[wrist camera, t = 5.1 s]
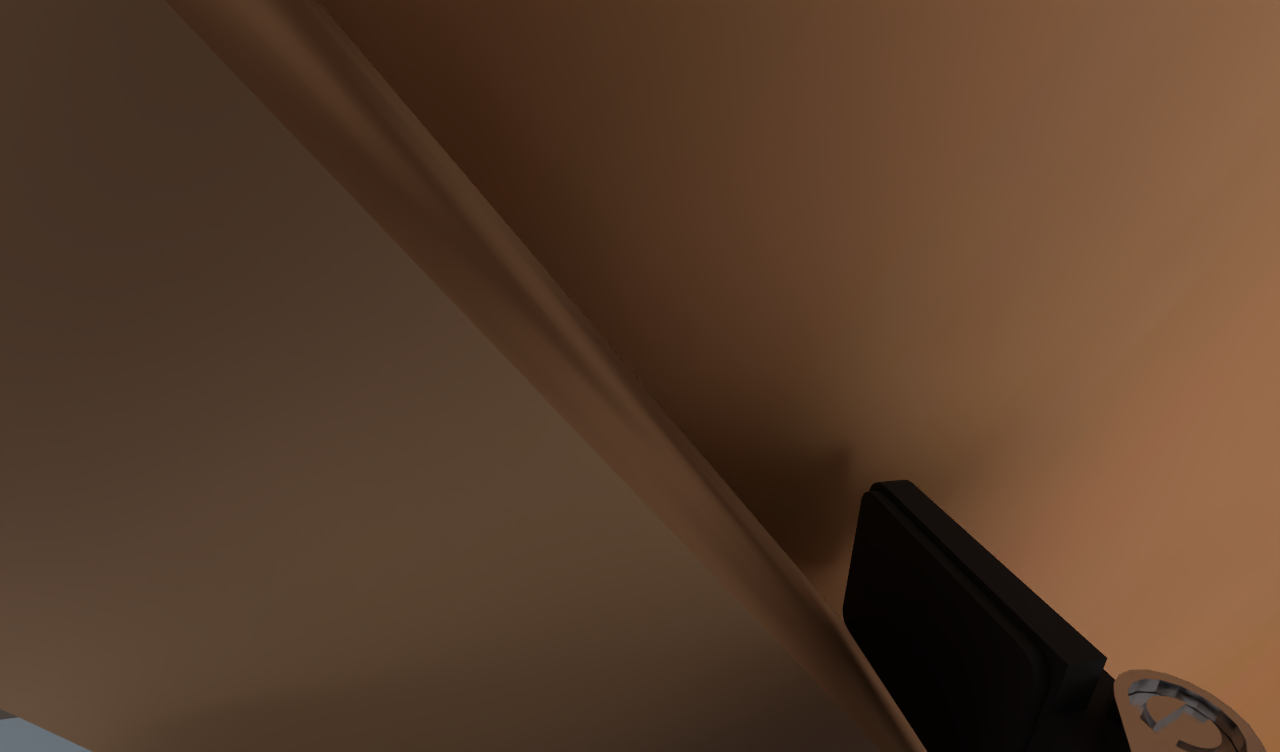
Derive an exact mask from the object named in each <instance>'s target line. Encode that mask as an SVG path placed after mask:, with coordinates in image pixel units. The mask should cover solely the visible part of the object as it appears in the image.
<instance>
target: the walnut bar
mask: <svg viewBox="0 0 1280 752" xmlns="http://www.w3.org/2000/svg"><path fill="white" fill-rule="evenodd" d="M0 709H2V710H4V711H6V712H8V713H10V714H12V715H15V716H17V717H19V718H21V719H23V720H25V721H27V722H30V723H32V724H34V725H36V726H38V727H40V728H43V729H45V730H47V731H49V732H51V733H53V734H55V735H58V736H60V737H62V738H64V739H66V740H68V741H71V742H73V743H75V744H77V745H79V746H81V747H83V748H86V749H88V750H90V751H92V752H927V751H926V749H925V748H924V746H923V745H922V743H921V741H920V740H919V738H918V737H917V735H916V734H915V732H914V731H913V729H912V728H911V726H910V725H909V723H908V722H907V720H906V718H905V717H904V715H903V714H902V712H901V711H900V709H899V708H898V706H897V705H896V703H895V702H894V700H893V699H892V697H891V695H890V694H889V692H888V691H887V689H886V688H885V686H884V685H883V683H882V682H881V680H880V679H879V677H878V676H877V674H876V672H875V671H874V669H873V668H872V666H871V665H870V663H869V662H868V660H867V659H866V657H865V656H864V654H863V653H862V651H861V649H860V648H859V646H858V645H857V643H856V642H855V640H854V639H853V637H852V636H851V634H850V633H849V631H848V629H847V627H846V625H845V623H844V622H843V620H842V619H841V618H840V617H839V616H838V615H837V613H836V612H835V611H834V610H833V609H832V607H831V606H830V605H829V604H828V603H827V602H826V600H825V599H824V598H823V597H822V596H821V594H820V593H819V592H818V591H817V590H816V589H815V587H814V586H813V585H812V584H811V583H810V582H809V580H808V579H807V578H806V577H805V576H804V574H803V573H802V572H801V571H800V570H799V569H798V567H797V566H796V565H795V564H794V563H793V561H792V560H791V559H790V558H789V557H788V556H787V554H786V553H785V552H784V551H783V550H782V548H781V547H780V546H779V545H778V544H777V543H776V541H775V540H774V539H773V538H772V537H771V535H770V534H769V533H768V532H767V531H766V530H765V528H764V527H763V526H762V525H761V524H760V522H759V521H758V520H757V519H756V518H755V517H754V515H753V514H752V513H751V512H750V511H749V509H748V508H747V507H746V506H745V505H744V504H743V502H742V501H741V500H740V499H739V498H738V496H737V495H736V494H735V493H734V492H733V491H732V489H731V488H730V487H729V486H728V485H727V483H726V482H725V481H724V480H723V479H722V478H721V476H720V475H719V474H718V473H717V472H716V470H715V469H714V468H713V467H712V466H711V465H710V463H709V462H708V461H707V460H706V459H705V457H704V456H703V455H702V454H701V453H700V452H699V450H698V449H697V448H696V447H695V446H694V444H693V443H692V442H691V441H690V440H689V439H688V437H687V436H686V435H685V434H684V433H683V431H682V430H681V429H680V428H679V427H678V426H677V424H676V423H675V422H674V421H673V420H672V418H671V417H670V416H669V415H668V414H667V413H666V411H665V410H664V409H663V408H662V407H661V405H660V404H659V403H658V402H657V401H656V400H655V398H654V397H653V396H652V395H651V394H650V392H649V391H648V390H647V389H646V388H645V387H644V385H643V384H642V383H641V382H640V381H639V379H638V378H637V377H636V376H635V375H634V374H633V372H632V371H631V370H630V369H629V368H628V366H627V365H626V364H625V363H624V362H623V361H622V359H621V358H620V357H619V356H618V355H617V353H616V352H615V351H614V350H613V349H612V348H611V346H610V345H609V344H608V343H607V342H606V341H605V339H604V338H603V337H602V336H601V335H600V333H599V332H598V331H597V330H596V329H595V328H594V326H593V325H592V324H591V323H590V322H589V320H588V319H587V318H586V317H585V316H584V315H583V313H582V312H581V311H580V310H579V309H578V307H577V306H576V305H575V304H574V303H573V302H572V300H571V299H570V298H569V297H568V296H567V294H566V293H565V292H564V291H563V290H562V289H561V287H560V286H559V285H558V284H557V283H556V281H555V280H554V279H553V278H552V277H551V276H550V274H549V273H548V272H547V271H546V270H545V268H544V267H543V266H542V265H541V264H540V263H539V261H538V260H537V259H536V258H535V257H534V255H533V254H532V253H531V252H530V251H529V250H528V248H527V247H526V246H525V245H524V244H523V242H522V241H521V240H520V239H519V238H518V237H517V235H516V234H515V233H514V232H513V231H512V229H511V228H510V227H509V226H508V225H507V224H506V222H505V221H504V220H503V219H502V218H501V216H500V215H499V214H498V213H497V212H496V211H495V209H494V208H493V207H492V206H491V205H490V203H489V202H488V201H487V200H486V199H485V198H484V196H483V195H482V194H481V193H480V192H479V190H478V189H477V188H476V187H475V186H474V185H473V183H472V182H471V181H470V180H469V179H468V177H467V176H466V175H465V174H464V173H463V172H462V170H461V169H460V168H459V167H458V166H457V164H456V163H455V162H454V161H453V160H452V159H451V157H450V156H449V155H448V154H447V153H446V151H445V150H444V149H443V148H442V147H441V146H440V144H439V143H438V142H437V141H436V140H435V138H434V137H433V136H432V135H431V134H430V133H429V131H428V130H427V129H426V128H425V127H424V125H423V124H422V123H421V122H420V121H419V120H418V118H417V117H416V116H415V115H414V114H413V112H412V111H411V110H410V109H409V108H408V107H407V105H406V104H405V103H404V102H403V101H402V100H401V98H400V97H399V96H398V95H397V94H396V92H395V91H394V90H393V89H392V88H391V87H390V85H389V84H388V83H387V82H386V81H385V79H384V78H383V77H382V76H381V75H380V74H379V72H378V71H377V70H376V69H375V68H374V66H373V65H372V64H371V63H370V62H369V61H368V59H367V58H366V57H365V56H364V55H363V53H362V52H361V51H360V50H359V49H358V48H357V46H356V45H355V44H354V43H353V42H352V40H351V39H350V38H349V37H348V36H347V35H346V33H345V32H344V31H343V30H342V29H341V27H340V26H339V25H338V24H337V23H336V22H335V20H334V19H333V18H332V17H331V16H330V14H329V13H328V12H327V11H326V10H325V9H324V7H323V6H322V5H321V4H320V3H319V1H318V0H0Z"/></svg>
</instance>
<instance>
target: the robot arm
mask: <svg viewBox="0 0 1280 752" xmlns="http://www.w3.org/2000/svg"><path fill="white" fill-rule="evenodd" d="M843 618H844V622H845V625H846V627H847V629H848V631H849V633H850V634H851V636H852V637H853V639H854V640H855V642H856V643H857V645H858V646H859V648H860V649H861V651H862V653H863V654H864V656H865V657H866V659H867V660H868V662H869V663H870V665H871V666H872V668H873V669H874V671H875V672H876V674H877V676H878V677H879V679H880V680H881V682H882V683H883V685H884V686H885V688H886V689H887V691H888V692H889V694H890V695H891V697H892V699H893V700H894V702H895V703H896V705H897V706H898V708H899V709H900V711H901V712H902V714H903V715H904V717H905V718H906V720H907V722H908V723H909V725H910V726H911V728H912V729H913V731H914V732H915V734H916V735H917V737H918V738H919V740H920V741H921V743H922V745H923V746H924V748H925V749H926V751H927V752H1266V750H1265V748H1264V746H1263V744H1262V742H1261V741H1260V739H1259V738H1258V736H1257V735H1256V734H1255V732H1254V731H1253V729H1252V728H1251V727H1250V725H1249V724H1248V723H1247V722H1246V721H1245V720H1244V719H1243V718H1242V717H1240V716H1239V715H1238V714H1237V713H1236V712H1235V711H1234V710H1233V709H1232V708H1231V707H1229V706H1228V705H1226V704H1225V703H1224V702H1222V701H1221V700H1219V699H1218V698H1216V697H1215V696H1214V695H1212V694H1211V693H1209V692H1207V691H1205V690H1203V689H1201V688H1199V687H1197V686H1196V685H1194V684H1192V683H1190V682H1188V681H1185V680H1182V679H1180V678H1177V677H1174V676H1172V675H1169V674H1166V673H1161V672H1156V671H1151V670H1129V671H1127V672H1124V673H1122V674H1119V675H1118V677H1117V679H1116V680H1115V679H1113V678H1112V677H1111V676H1110V675H1109V674H1108V673H1107V672H1106V671H1105V670H1104V669H1103V668H1104V665H1105V663H1106V660H1107V658H1106V657H1105V656H1104V655H1103V654H1102V653H1101V652H1100V651H1099V650H1098V649H1096V648H1095V647H1094V646H1093V645H1092V644H1091V643H1090V642H1089V641H1088V640H1086V639H1085V638H1084V637H1083V636H1082V635H1081V634H1080V633H1079V632H1078V631H1076V630H1075V629H1074V628H1073V627H1072V626H1071V625H1070V624H1069V623H1068V622H1066V621H1065V620H1064V619H1063V618H1062V617H1061V616H1060V615H1059V614H1058V613H1056V612H1055V611H1054V610H1053V609H1052V608H1051V607H1050V606H1049V605H1047V604H1046V603H1045V602H1044V601H1043V600H1042V599H1041V598H1040V597H1039V596H1037V595H1036V594H1035V593H1034V592H1033V591H1032V590H1031V589H1030V588H1029V587H1027V586H1026V585H1025V584H1024V583H1023V582H1022V581H1021V580H1020V579H1019V578H1017V577H1016V576H1015V575H1014V574H1013V573H1012V572H1011V571H1010V570H1009V569H1007V568H1006V567H1005V566H1004V565H1003V564H1002V563H1001V562H1000V561H999V560H997V559H996V558H995V557H994V556H993V555H992V554H991V553H990V552H988V551H987V550H986V549H985V548H984V547H983V546H982V545H981V544H980V543H978V542H977V541H976V540H975V539H974V538H973V537H972V536H971V535H970V534H968V533H967V532H966V531H965V530H964V529H963V528H962V527H961V526H960V525H958V524H957V523H956V522H955V521H954V520H953V519H952V518H951V517H950V516H948V515H947V514H946V513H945V512H944V511H943V510H942V509H941V508H940V507H938V506H937V505H936V504H935V503H934V502H933V501H932V500H931V499H929V498H928V497H927V496H926V495H925V494H924V493H923V492H922V491H921V490H919V489H918V488H917V487H916V486H915V485H914V484H913V483H911V482H910V481H908V480H896V481H886V482H877V483H874V484H873V485H872V486H871V488H870V490H869V492H866V493H864V495H863V496H862V500H861V505H860V511H859V517H858V523H857V528H856V534H855V540H854V546H853V551H852V557H851V563H850V569H849V575H848V580H847V586H846V592H845V598H844V603H843Z"/></svg>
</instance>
